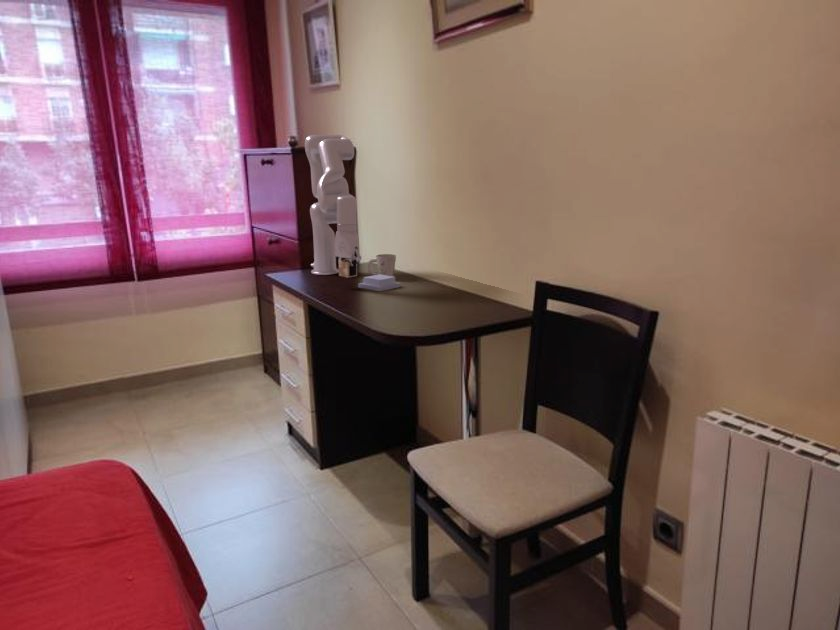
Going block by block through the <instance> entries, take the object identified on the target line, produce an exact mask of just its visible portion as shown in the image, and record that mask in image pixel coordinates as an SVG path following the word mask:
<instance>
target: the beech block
mask: <svg viewBox="0 0 840 630" xmlns="http://www.w3.org/2000/svg"><path fill="white" fill-rule="evenodd" d="M352 261H354V259H352ZM349 266H350V261H349V259H347V258H346V260H340V261H339V263H338V269H339V273H338V276H339V277H341V278H342V277H343V278H352V277H353V278H354V277H357V276H358V264H357V265H356V275H354V276H350V275H349Z"/></svg>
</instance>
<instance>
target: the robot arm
mask: <svg viewBox="0 0 840 630" xmlns="http://www.w3.org/2000/svg"><path fill="white" fill-rule="evenodd" d="M304 150H305V154H306V157H307V160H308V162H309V166H310V180H311V192H312V195H313V197H314V198H315V199H317V202H313V204H311V205H310V208H309V214H310V219H311V225H312V226H311V227H312V236H313V237H312V238H313V239H312V241H313V259H314V261H313V263H311V264H310V266H311V267H312V268H313V269H311V271H310V272H311V274H313V275H319V276H320V275H321V276H327V275H328V276H329V275H336V274H339V268H337V263H338V264H339V261H340V260H346V259H349V261H350V266H349V275H350V276H353V277H355V276H354V275H356V265H357V266H358V263H359V262H360V261H361V260H362V256H361V254H360V241H359V234H358V231H357V230H358V227H357V226H358V225H357V224H358V223H357V221H358V219H357V218H358V217H357V216H358V215H357V214H358V213H357V198H356V197H355V196H354V195H352V194H350V191H349V184H348V181H347V179H346V178H345V177H344V175H345V172H346V171H345V166H344V162H343V161H351V160H352V159H354V156H355V146H354V143H353V142H352V140H351V139H350V138H348V137H347V136H345V135H342V134H310V135H308V136H307V137H305V140H304ZM330 224H336V227H337V228H336V229H337V230H336V232H334V230H333V229H332V227H330ZM352 260H354V261H352ZM337 261H338V262H337Z"/></svg>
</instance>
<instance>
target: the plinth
mask: <svg viewBox="0 0 840 630" xmlns="http://www.w3.org/2000/svg"><path fill="white" fill-rule="evenodd" d="M357 284H358V285H357V286H358V287H357V288H360V289H365V290H370V291H375V292H382V291H383V292H384V291H388V290H392V289H397V288H400V287H401V286H402V285H401V282H397V281H396V276H394V277H392V276H387V275H381V274H378V275H373V274H372V275H369V276H364V277H363V282H360V283H357Z"/></svg>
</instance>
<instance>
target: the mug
mask: <svg viewBox="0 0 840 630" xmlns="http://www.w3.org/2000/svg"><path fill="white" fill-rule="evenodd" d="M375 258H376V259H375ZM375 258H374V259H373V258H372V259H370V260H369V261H368V262H367V264H366V269H367V272H368V273H369V274H371V275H372V276H373V275H378V274H381V275H387V276H392V277H395V269H396V258H397V255H396V254H389V253H384V254H377V255H376V257H375ZM372 263H377V271H378V272H373V271H372V269H371V267H370V266H371V264H372Z"/></svg>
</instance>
